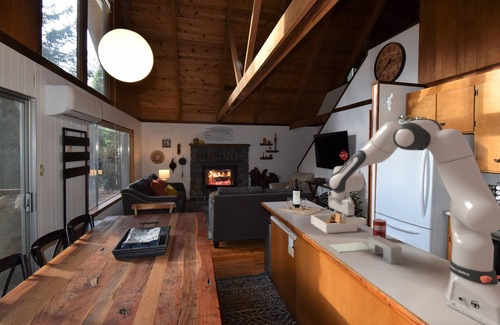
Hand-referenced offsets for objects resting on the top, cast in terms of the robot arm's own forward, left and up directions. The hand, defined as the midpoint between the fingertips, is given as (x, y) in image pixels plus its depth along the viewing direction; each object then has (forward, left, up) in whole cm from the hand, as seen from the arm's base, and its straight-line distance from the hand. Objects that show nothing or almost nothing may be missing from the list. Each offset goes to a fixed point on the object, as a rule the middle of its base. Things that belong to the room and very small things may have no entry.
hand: (340, 219), depth 138 cm
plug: (0, -6, -2) cm, 7 cm away
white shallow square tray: (+36, -17, -16) cm, 43 cm away
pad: (0, -7, -16) cm, 18 cm away
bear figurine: (+33, -15, -17) cm, 40 cm away
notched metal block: (-14, -17, -16) cm, 27 cm away
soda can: (+8, -32, -17) cm, 37 cm away
